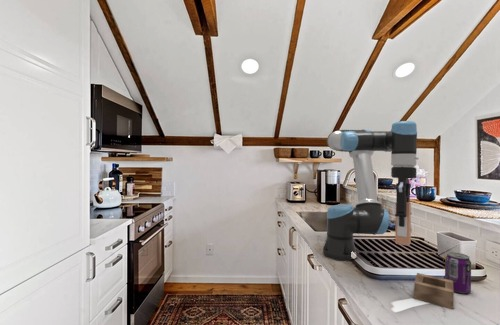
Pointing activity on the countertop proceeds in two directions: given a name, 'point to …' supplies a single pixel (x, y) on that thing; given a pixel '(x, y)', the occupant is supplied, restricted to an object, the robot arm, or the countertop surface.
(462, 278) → the beverage can
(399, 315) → the countertop surface
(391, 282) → the countertop surface
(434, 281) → the socket block
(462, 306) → the countertop surface
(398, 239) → the peg
